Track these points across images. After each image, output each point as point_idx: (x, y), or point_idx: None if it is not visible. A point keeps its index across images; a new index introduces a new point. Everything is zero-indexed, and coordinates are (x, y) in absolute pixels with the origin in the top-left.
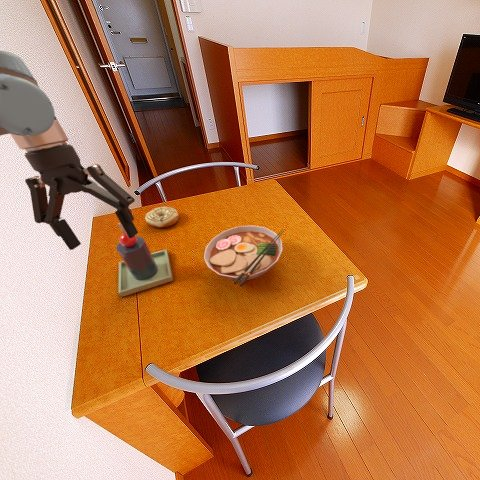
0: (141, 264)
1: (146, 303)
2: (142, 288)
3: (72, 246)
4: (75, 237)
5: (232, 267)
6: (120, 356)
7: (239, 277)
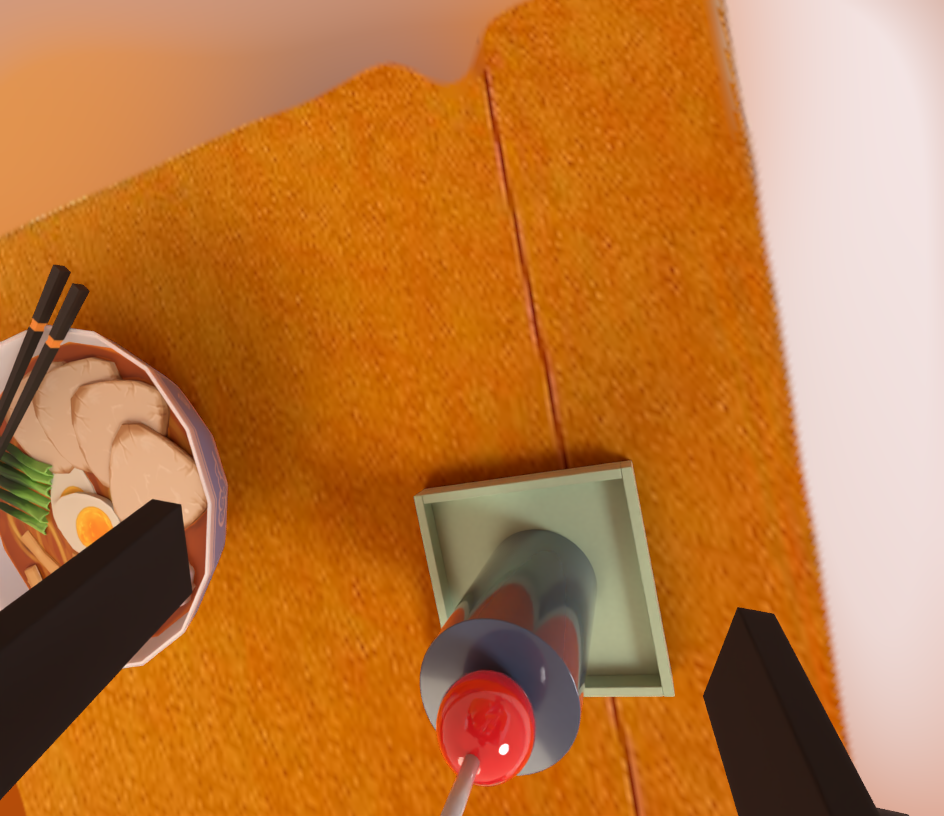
0: (495, 571)
1: (514, 387)
2: (537, 475)
3: (743, 638)
4: (733, 768)
5: (120, 410)
6: (572, 129)
7: (61, 311)
